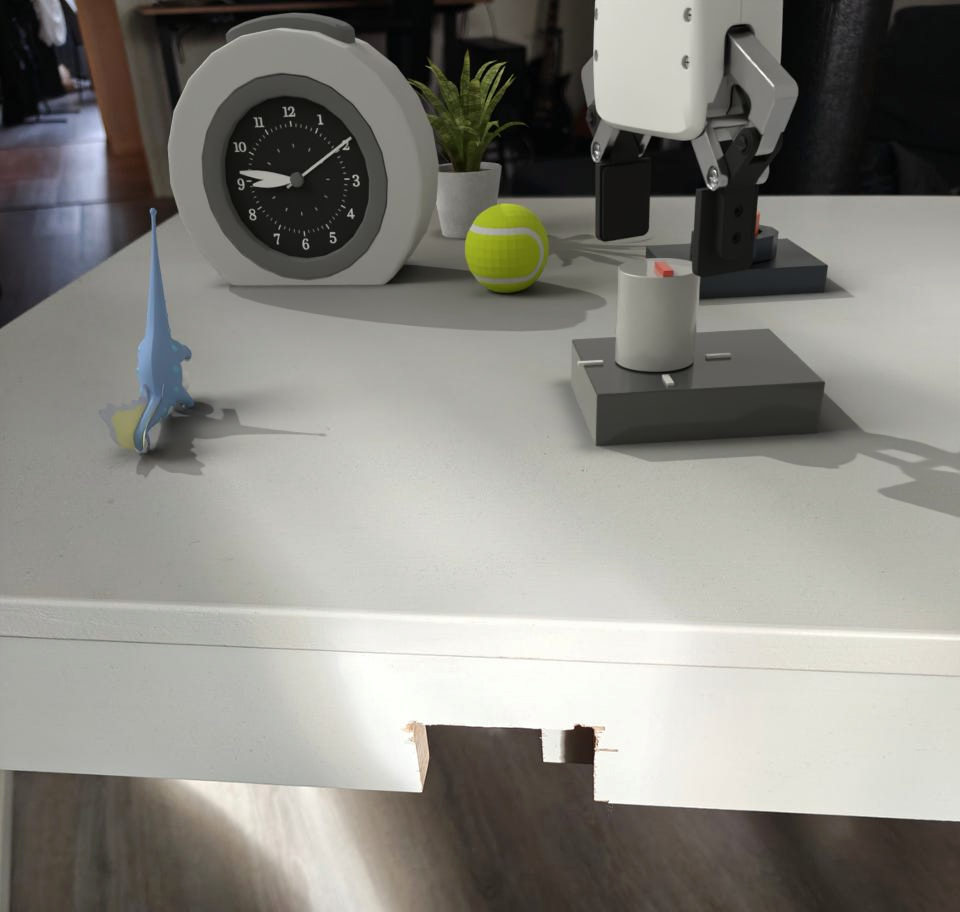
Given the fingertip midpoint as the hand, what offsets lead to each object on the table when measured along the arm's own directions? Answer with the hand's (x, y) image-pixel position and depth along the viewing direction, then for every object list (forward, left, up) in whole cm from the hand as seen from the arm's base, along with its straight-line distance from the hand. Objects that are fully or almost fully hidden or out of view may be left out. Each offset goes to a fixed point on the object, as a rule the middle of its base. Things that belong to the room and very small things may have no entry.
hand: (668, 253), depth 54 cm
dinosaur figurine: (+29, -2, -9) cm, 30 cm away
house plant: (+9, -54, -9) cm, 55 cm away
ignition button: (-11, -28, -5) cm, 31 cm away
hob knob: (+1, 0, -6) cm, 6 cm away
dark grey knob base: (-1, 0, -9) cm, 9 cm away
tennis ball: (+7, -29, -9) cm, 31 cm away
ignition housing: (-11, -28, -9) cm, 31 cm away
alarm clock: (+23, -38, -9) cm, 45 cm away
